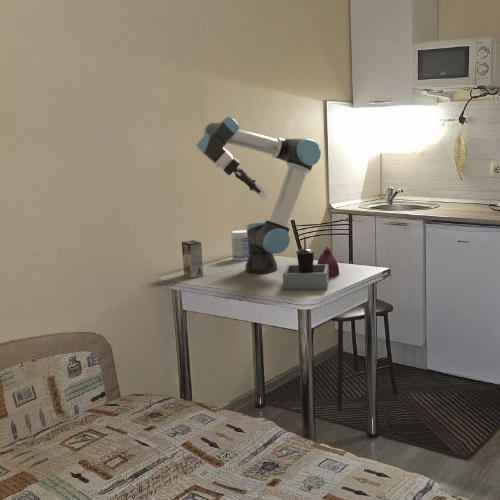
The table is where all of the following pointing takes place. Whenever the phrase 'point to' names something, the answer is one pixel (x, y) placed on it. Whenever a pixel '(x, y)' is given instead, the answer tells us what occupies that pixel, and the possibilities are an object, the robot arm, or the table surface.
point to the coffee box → (192, 258)
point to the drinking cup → (305, 259)
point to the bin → (306, 278)
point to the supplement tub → (239, 245)
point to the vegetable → (329, 262)
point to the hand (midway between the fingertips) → (264, 195)
